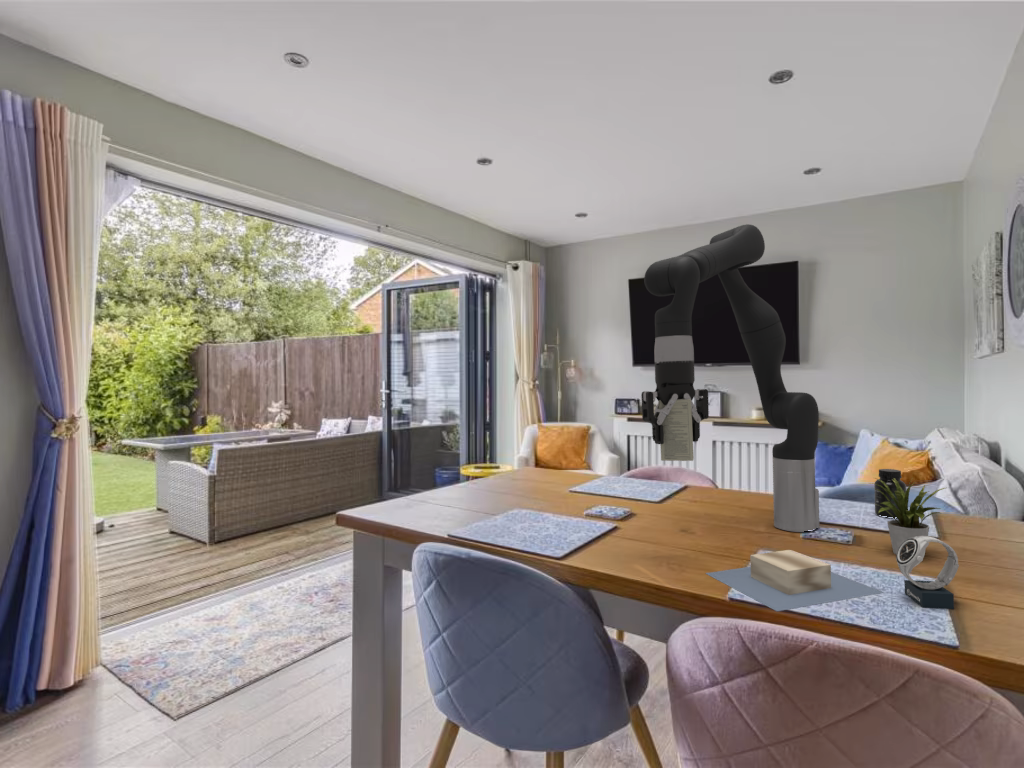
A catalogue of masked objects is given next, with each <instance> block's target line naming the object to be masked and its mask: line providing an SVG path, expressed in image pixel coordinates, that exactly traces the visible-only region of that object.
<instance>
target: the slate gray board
mask: <svg viewBox="0 0 1024 768" xmlns="http://www.w3.org/2000/svg"><path fill="white" fill-rule="evenodd" d="M705 575H707V576H709V577H711V578H713V579H715V580H717V582H721V583H723V584H724V585H727V587H730V588H732V589H734V590H736V591H737V592H740V593H741V594H743V595H745V596H747V597H749V598H750V599H753V600H755V601H756V602H758V603H760V604H762V605H764V606H765V607H768V608H770V609H772V610H774V612H782V611H788V610H793V609H799V608H804V607H805V608H806V607H811V606H816V605H823V604H828V603H832V602H839V601H844V600H845V601H846V600H850V599H856V598H861V597H868V596H874V595H879V594H884V593H885V592H884V591H882V590H879V589H877V588H874V587H872V586H869V585H867V584H864V583H861V582H859V581H856V580H853V579H850V578H848V577H846V576H844V575H841V574H839V573H836V572H833V571H831V588H828V589H822V590H816V591H810V592H804V593H798V594H792V595H788V594H786V593H783V592H781V591H779V590H777V589H775V588H773V587H771V586H769V585H767V584H765V583H762V582H760V581H758V580H756V579H754V578H752V577H751V566H746V567H740V568H731V569H723V570H718V571H710V572H705Z"/></svg>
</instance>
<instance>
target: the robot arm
mask: <svg viewBox="0 0 1024 768" xmlns="http://www.w3.org/2000/svg"><path fill="white" fill-rule="evenodd" d="M763 236H764V235H763V234H762V232H761V230H760V229H759V228H758V227H757V226H756V225H753V224H747V223H746V224H742V225H738V226H736V227H733V228H731V229H728V230H726V231H724V232H720V233H718V234H716V235H714V236H713V237H711V238H710V240H709V244H705V245H702V246H698V247H696V248H694V249H690V250H689V251H686V252H684V253H682V254H680V255H676V256H673V257H669V258H666V259H665V258H664V259H660V260H657V261H655V262H653V263H652V264H650V265H649V267H647V269H646V270H645V273H644V277H643V278H644V279H643V280H644V286H645V288H646V290H647V291H648V292H649V293H650V294H651V295H653V296H656V297H668V296H673V298H672V301H671V302H670V303H669V304H668V305H666V306H664V307H660V308H658V310H656V311H655V314H654V335H655V336H654V337H655V338H654V339H655V340H654V341H655V342H654V347H653V348H654V350H653V351H654V380H655V381H654V382H655V385H656V388H655V391H648V390H644V391H642V392H641V415H642V417H641V418H642V421H643V422H645V423H646V422H647V423H649V424H651V434H652V435H651V436H652V441H654V443H655V444H656V445H660V444H663V443H664V432H663V425H661V424H662V423H663V421H664V419H665V417H666V416H667V415H668V414H669V412H670V410H671V408H672V406H673V405H674V403H675V402H676V400H677V399H691V411H692V432H693V443H695V442H696V443H697V442H698V441H699V439H700V436H701V425H700V424H701V422H702V421H703V420H707V419H708V418H709V417H710V416H709V412H710V411H709V391H708V389H707V388H697V389H695V387H694V382H695V380H696V379H695V378H696V377H695V350H694V343H693V330H692V329H693V326H692V315H693V311H694V306H695V301H696V297H697V293H698V290H699V287H700V283H703V282H705V281H707V280H709V279H710V278H713V277H714V276H717V275H718V278H719V280H720V282H721V284H722V287H723V289H724V291H725V293H726V295H727V298H728V300H729V303H730V306H731V308H732V312H733V315H734V317H735V320H736V323H737V327H738V330H739V333H740V336H741V340H742V342H743V345H744V347H745V350H746V353H747V354H748V359H749V361H750V365H751V367H752V371H753V374H754V377H755V381H756V384H757V389H758V394H759V398H760V404H761V407H762V412H763V414H764V417H765V419H766V421H767V422H768V423H769V425H770V426H772V427H774V428H775V429H780V430H787V431H786V433H787V434H786V439H784V440H783V441H782V442H780V443H777V444H774V445H773V446H772V452H771V453H772V483H773V484H772V485H773V487H772V489H773V490H772V494H773V495H772V496H773V497H772V498H773V527H775V528H777V529H779V530H783V531H786V532H787V531H788V532H795V533H805V532H804V531H808V530H813V529H816V528H818V529H820V499H819V498H820V492H819V489H818V488H816V464H815V463H816V462H815V461H816V460H815V457H816V456H815V455H816V450H817V447H818V443H819V442H818V441H819V421H820V419H819V415H820V413H819V412H820V411H819V406H818V402H817V401H816V399H815V397H814V396H813V395H812V394H810V393H807V392H798V391H797V392H795V391H794V392H793V391H791V392H788V391H787V389H786V386H785V384H784V380H783V377H782V370H781V366H782V361H783V358H784V355H785V350H786V345H787V343H786V342H787V341H786V340H787V339H786V338H787V337H786V333H785V331H784V328H783V324H782V321H781V319H780V316H779V313H778V312H777V310H776V309H775V308H774V307H773V306H772V305H770V304H769V303H768V302H767V301H765V300H764V299H763V298H762V297H760V296H759V295H758V294H757V293H755V292H754V291H753V290H752V289H751V288H750V287H749V286H748V285H747V283H746V282H745V281H744V278H743V277H742V275H741V272H740V271H739V269H740V268H742V267H746V266H750V265H752V264H754V263H756V262H758V261H759V260H761V259H762V257H763V256H764V254H765V247H766V246H765V245H766V244H765V240H764V237H763ZM693 399H695V403H694V402H693ZM656 400H657V401H658V400H661V402H662V403H663V404H664V405H665V407H664V408H663V409H660V410H659V404H658V403H657V404H656V406H655V401H656ZM659 413H660V414H659ZM816 530H817V529H816Z"/></svg>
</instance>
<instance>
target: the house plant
mask: <svg viewBox="0 0 1024 768" xmlns="http://www.w3.org/2000/svg"><path fill="white" fill-rule="evenodd" d="M874 479H876V480H879V479H880V478H876V477H874ZM894 480H895V481H894ZM894 480H893V482H894V483H895V485H896V487H897V491H895V495H896V497H897V499H898V501H897V500H896V498H895V497H894V495H893V493H892V492H891V490H890V489H889V487H888V486H887V485H886V484H885V483H884V482H883V481H881V480H879V481H881V482H882V483H883V484H884V485H885V487H886V488H887V489H886V488H884V487H882V486H880V485H878V484H876V485H878V486H880V487H881V488H883V489H884V490H885V491H886V492H887V493H888V494H889V495H890V496H891V498H892V499H893V500H894V502H895V503H896V505H897V506H898V508H899V510H898V509H897V508H896V507H895V506H894V505H893V504H892V503H891V502H890V500H889V499H888V498H887V496H886V495H885V494H884V493H883V492H881V491H880V490H878V489H877V490H878V491H880V492H881V493H882V494H883V495H884V496H885V497H886V498H887V500H888V501H889V502H883V503H881V504H885V505H887V506H888V508H883V507H882V508H881V509H880V510H879V512H882V511H885V510H886V511H887V510H888V509H889V508H891V510H892V511H893V512H894V514H895V515H896V517H897V518H898V519H895V517H894V516H892V515H891V514H890V513H889V512H888V511H887V512H888V513H889V514H890V515H891V516H892V517H893V518H894V519H891V520H888V521H887V528H888V533H889V537H890V543H891V547H892V552H893V554H894V555H896V554H897V551H898V549H899V547H900V546H901V544H902V543H903V542H904V541H905V540H907V539H909V538H914V537H916V536H917V537H918V536H929V532H930V525H928V524H927V523H924V522H923V521H924V520H925V519H926V518H927V517H929V516H931V515H936V514H941V512H937V511H936V512H931V513H928V514H927V515H925V513H926V512H928V511H932V510H933V511H934V510H941V509H942V508H940V507H933V506H931V507H928V506H927V507H924V506H923V505H924V504H925V503H926V502H927V500H929V499H930V498H931V497H933V496H934V495H936V494H937V493H938V492H939V491H943V490H944V489H946V487H942V488H939V489H936V490H935V491H933V492H931V493H930V494H929V495H928V496H926V494H928V492H930V491H929V490H928V491H925V488H926V487H925V486H926V484H924V485H923V486H922V488H921V489H920V490H919V493H918V495H917V496H916V497H915V498H914V499H913V501H911V503H910V505H909V499H910V498H909V497H910V496H909V495H910V491H911V487H912V486H913V485H914V484H915V483H916V481H914V482H913V483H912V484H911V482H912V480H913V478H911V479H910V481H909V484H908V486H907V487H906V493H904V491H903V489H902V488H901V487H900V486H899V483H898V481H897V480H896V479H895V478H894ZM869 484H870V485H871V484H872V485H874V483H871V482H869ZM948 488H950V487H949V486H947V489H948ZM872 489H873V490H875V488H874V487H872ZM924 497H925V498H924ZM923 498H924V499H923ZM898 502H899V503H898ZM869 504H871V505H873V503H869ZM876 505H877V504H876ZM880 507H881V506H880ZM879 512H878V513H879ZM920 520H921V521H920Z"/></svg>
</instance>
